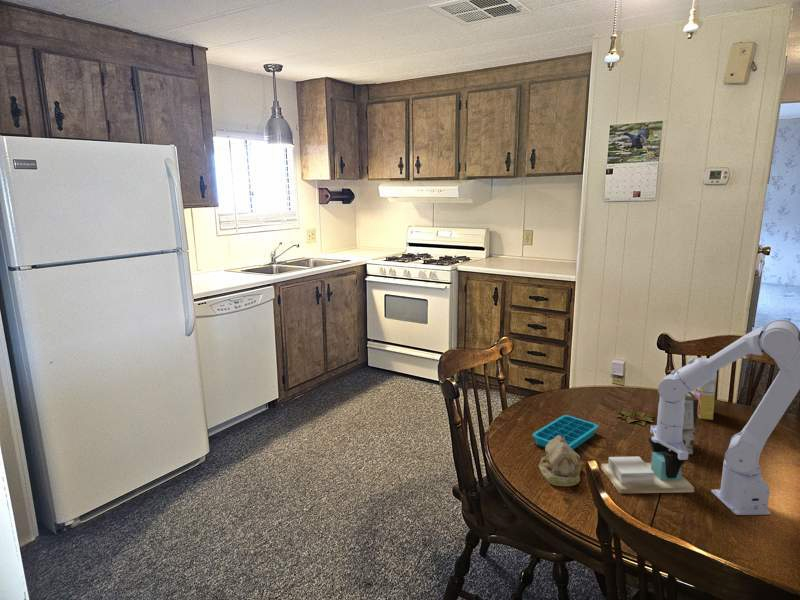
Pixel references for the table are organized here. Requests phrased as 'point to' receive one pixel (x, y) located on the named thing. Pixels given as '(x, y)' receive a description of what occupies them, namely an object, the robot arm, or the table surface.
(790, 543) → the table surface
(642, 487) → the stacking base
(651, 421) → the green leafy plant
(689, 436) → the coffee box
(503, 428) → the table surface
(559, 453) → the ceramic model
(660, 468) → the teal cube
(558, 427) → the ice cube tray
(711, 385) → the candy box
